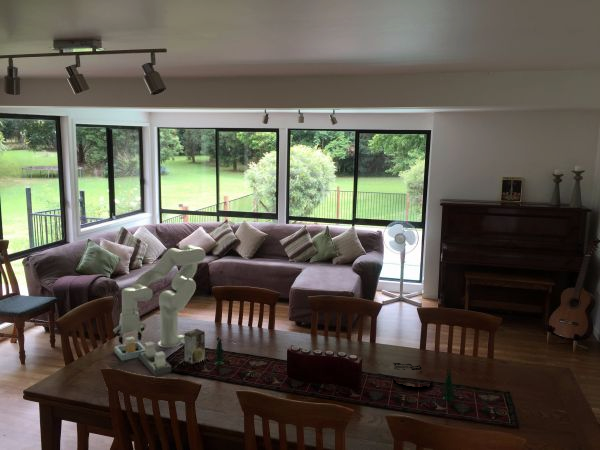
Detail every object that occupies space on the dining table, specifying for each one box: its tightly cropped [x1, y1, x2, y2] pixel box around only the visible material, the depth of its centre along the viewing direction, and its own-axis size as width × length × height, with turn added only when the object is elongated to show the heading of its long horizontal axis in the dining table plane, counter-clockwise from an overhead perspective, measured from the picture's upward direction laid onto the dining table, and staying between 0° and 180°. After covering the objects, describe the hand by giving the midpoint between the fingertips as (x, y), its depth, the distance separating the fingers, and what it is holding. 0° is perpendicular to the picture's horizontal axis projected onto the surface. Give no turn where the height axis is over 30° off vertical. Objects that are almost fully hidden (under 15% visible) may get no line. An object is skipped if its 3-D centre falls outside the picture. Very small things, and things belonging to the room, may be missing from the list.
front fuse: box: [155, 350, 166, 368], centre depth 252 cm, size 4×4×9 cm
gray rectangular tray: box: [138, 350, 172, 377], centre depth 259 cm, size 8×23×4 cm, turn 36°
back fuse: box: [144, 341, 156, 357], centre depth 264 cm, size 4×4×9 cm
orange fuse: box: [125, 336, 137, 353], centre depth 271 cm, size 4×4×9 cm
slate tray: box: [114, 341, 145, 361], centre depth 272 cm, size 13×13×4 cm
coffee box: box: [183, 328, 206, 365], centre depth 266 cm, size 9×6×16 cm
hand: (130, 341), depth 271 cm, fingers open, 9 cm apart
